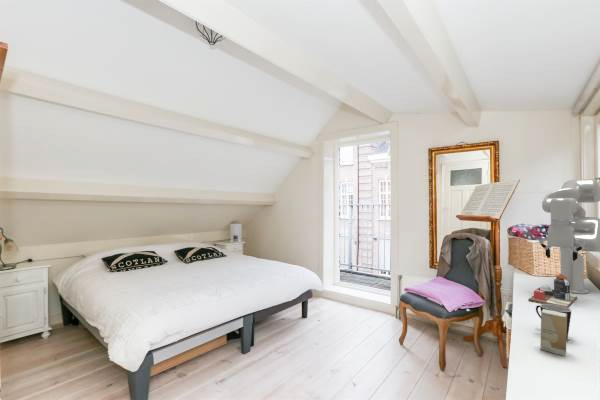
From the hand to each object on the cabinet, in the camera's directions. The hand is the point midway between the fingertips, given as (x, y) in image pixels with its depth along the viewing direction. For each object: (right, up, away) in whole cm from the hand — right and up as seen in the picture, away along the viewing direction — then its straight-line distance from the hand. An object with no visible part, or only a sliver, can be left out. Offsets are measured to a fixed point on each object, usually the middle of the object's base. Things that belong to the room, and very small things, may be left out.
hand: (561, 259), depth 151 cm
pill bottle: (0, -19, 0) cm, 19 cm away
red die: (-10, -20, 0) cm, 23 cm away
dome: (0, -19, +9) cm, 21 cm away
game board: (-2, -20, +2) cm, 21 cm away
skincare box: (-46, -20, -52) cm, 72 cm away
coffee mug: (-36, -20, -39) cm, 56 cm away
